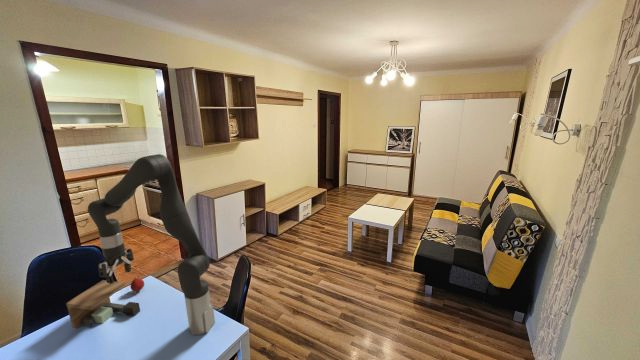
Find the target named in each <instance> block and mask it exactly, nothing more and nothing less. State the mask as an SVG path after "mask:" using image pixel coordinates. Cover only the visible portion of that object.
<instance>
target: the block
mask: <svg viewBox="0 0 640 360" xmlns="http://www.w3.org/2000/svg"><path fill="white" fill-rule="evenodd" d="M112 317H114V312H113V310H112V308H109V307H101V308H100V309H99V310H97V311H96V312H94V313H93V314H92V318H93V322H94V323H98V324H104V323H106V322H107V321H108V320H110V319H111V318H112Z"/></svg>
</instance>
